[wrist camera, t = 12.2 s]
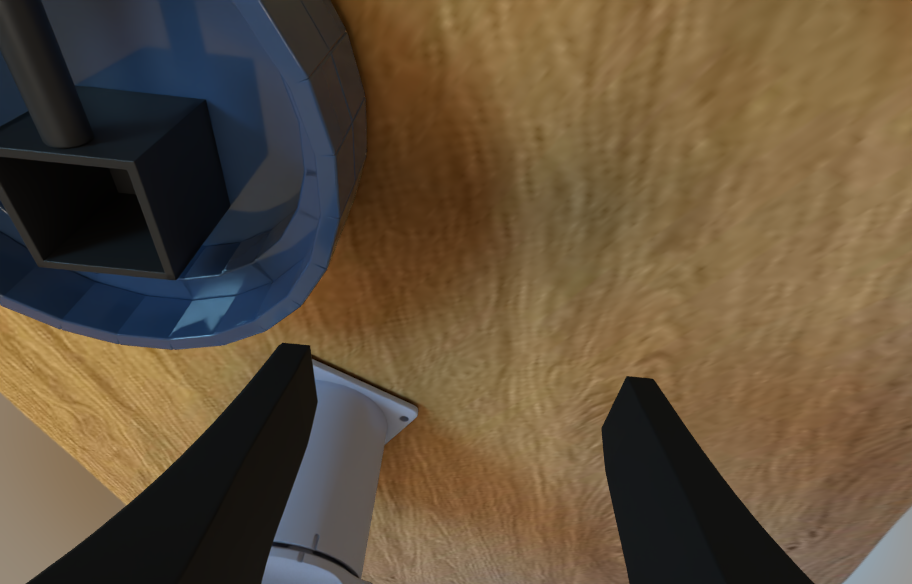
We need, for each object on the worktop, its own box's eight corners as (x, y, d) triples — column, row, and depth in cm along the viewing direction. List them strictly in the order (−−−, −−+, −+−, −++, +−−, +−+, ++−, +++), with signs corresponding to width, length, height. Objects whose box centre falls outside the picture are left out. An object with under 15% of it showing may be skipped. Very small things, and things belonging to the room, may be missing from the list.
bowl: (274, 316, 25) (236, 400, 21) (-101, 138, 19) (-245, 208, 15) (455, 42, 16) (445, 100, 12) (-125, -408, 11) (-453, -548, 7)
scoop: (231, 206, 20) (176, 281, 16) (117, 194, 20) (38, 267, 16) (175, -33, 15) (78, 2, 11) (20, -51, 14) (-127, -21, 11)
